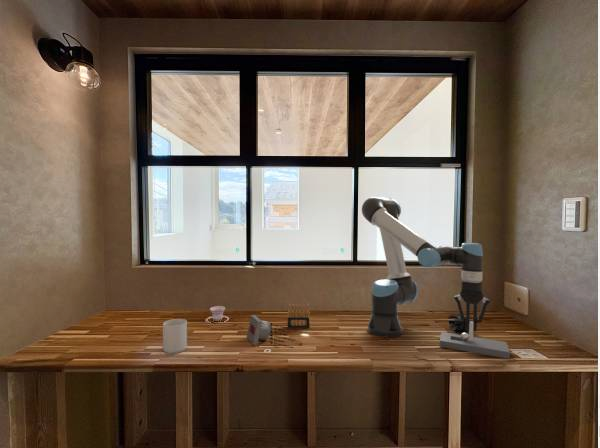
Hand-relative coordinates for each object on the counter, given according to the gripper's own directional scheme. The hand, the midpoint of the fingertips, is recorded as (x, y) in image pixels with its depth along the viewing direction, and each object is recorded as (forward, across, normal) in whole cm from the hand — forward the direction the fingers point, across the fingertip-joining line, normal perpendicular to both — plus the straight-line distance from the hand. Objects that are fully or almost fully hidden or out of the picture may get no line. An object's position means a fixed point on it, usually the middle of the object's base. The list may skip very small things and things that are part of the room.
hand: (471, 338), depth 127 cm
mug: (+4, -106, -58) cm, 120 cm away
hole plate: (+4, +1, 0) cm, 4 cm away
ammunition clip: (+4, -73, -13) cm, 75 cm away
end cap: (+4, -4, +20) cm, 21 cm away
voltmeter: (+4, -74, -37) cm, 83 cm away
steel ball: (0, -2, 0) cm, 2 cm away
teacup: (+4, -116, -23) cm, 118 cm away
